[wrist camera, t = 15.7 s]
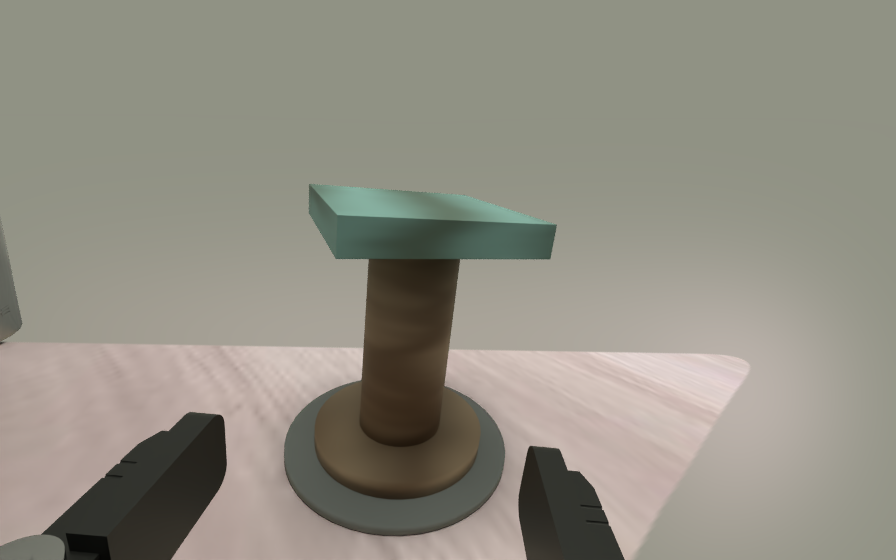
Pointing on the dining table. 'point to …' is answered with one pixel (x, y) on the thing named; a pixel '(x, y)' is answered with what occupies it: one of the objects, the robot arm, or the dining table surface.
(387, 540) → the dining table surface
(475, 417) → the stool
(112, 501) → the robot arm
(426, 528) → the mat
